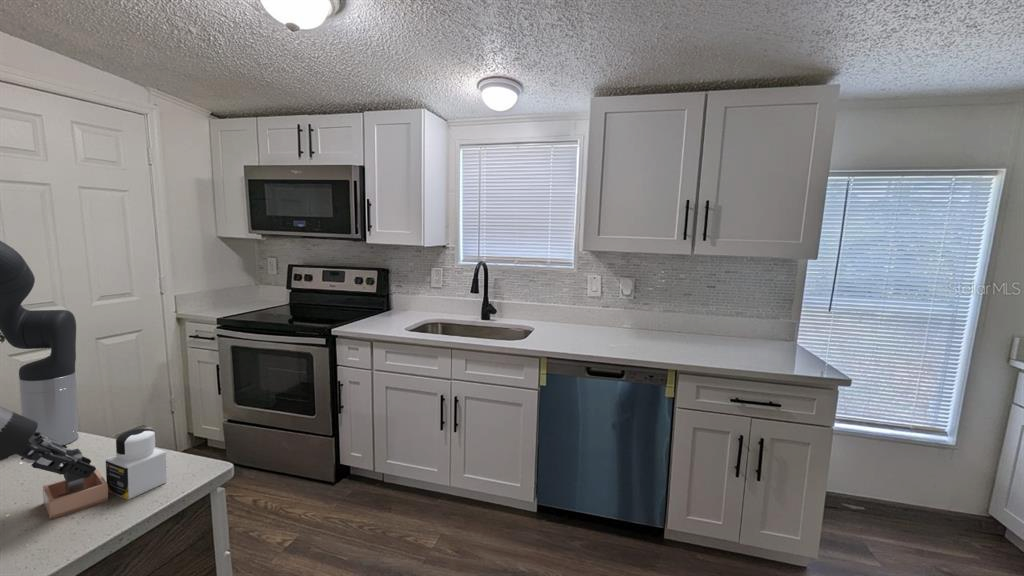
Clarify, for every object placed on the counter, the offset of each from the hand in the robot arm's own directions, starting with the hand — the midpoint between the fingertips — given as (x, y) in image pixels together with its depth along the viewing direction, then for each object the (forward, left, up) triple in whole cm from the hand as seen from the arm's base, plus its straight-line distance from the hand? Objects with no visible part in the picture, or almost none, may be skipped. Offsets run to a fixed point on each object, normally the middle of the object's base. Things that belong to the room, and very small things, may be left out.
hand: (88, 468), depth 83 cm
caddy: (0, -2, -6) cm, 6 cm away
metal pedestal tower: (0, -2, -5) cm, 6 cm away
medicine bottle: (+2, +7, -6) cm, 9 cm away
